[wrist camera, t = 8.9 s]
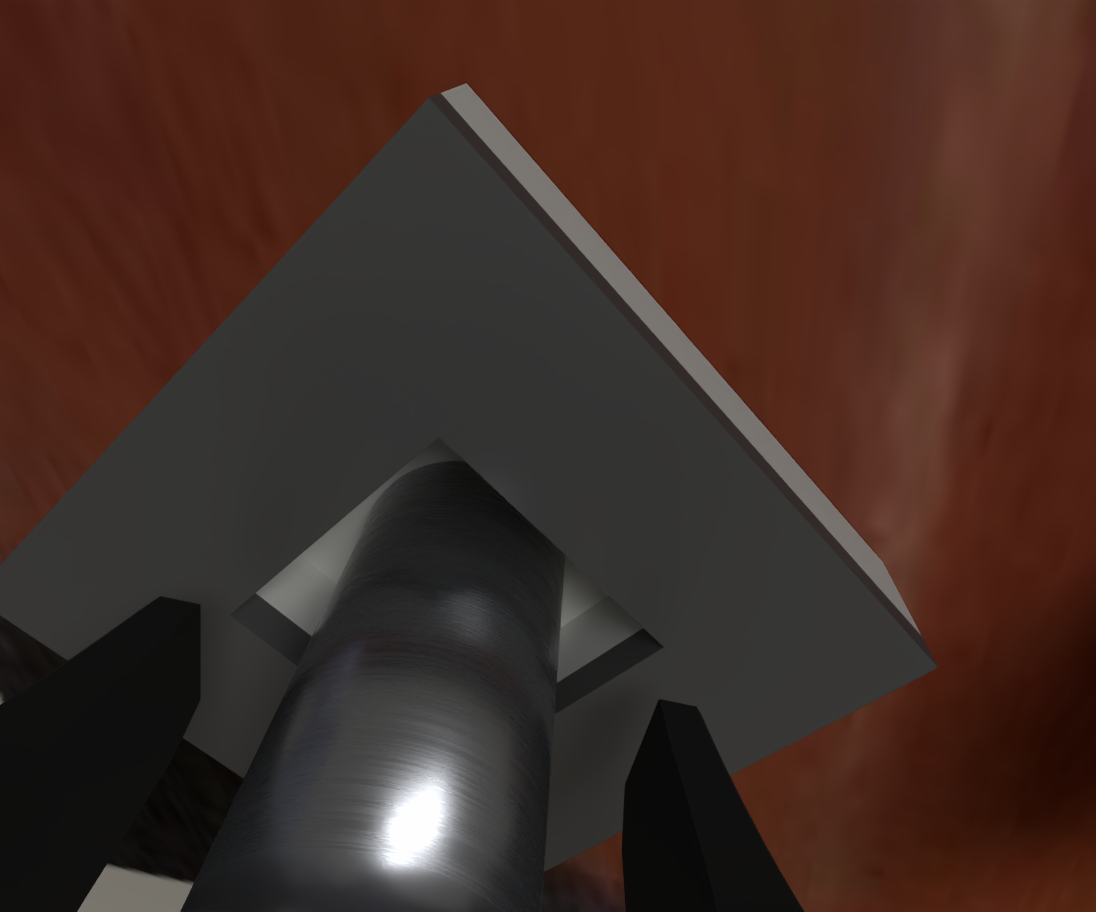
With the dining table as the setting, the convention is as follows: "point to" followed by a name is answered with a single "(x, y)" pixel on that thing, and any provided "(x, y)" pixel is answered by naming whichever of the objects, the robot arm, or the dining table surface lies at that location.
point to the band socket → (496, 455)
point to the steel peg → (410, 723)
